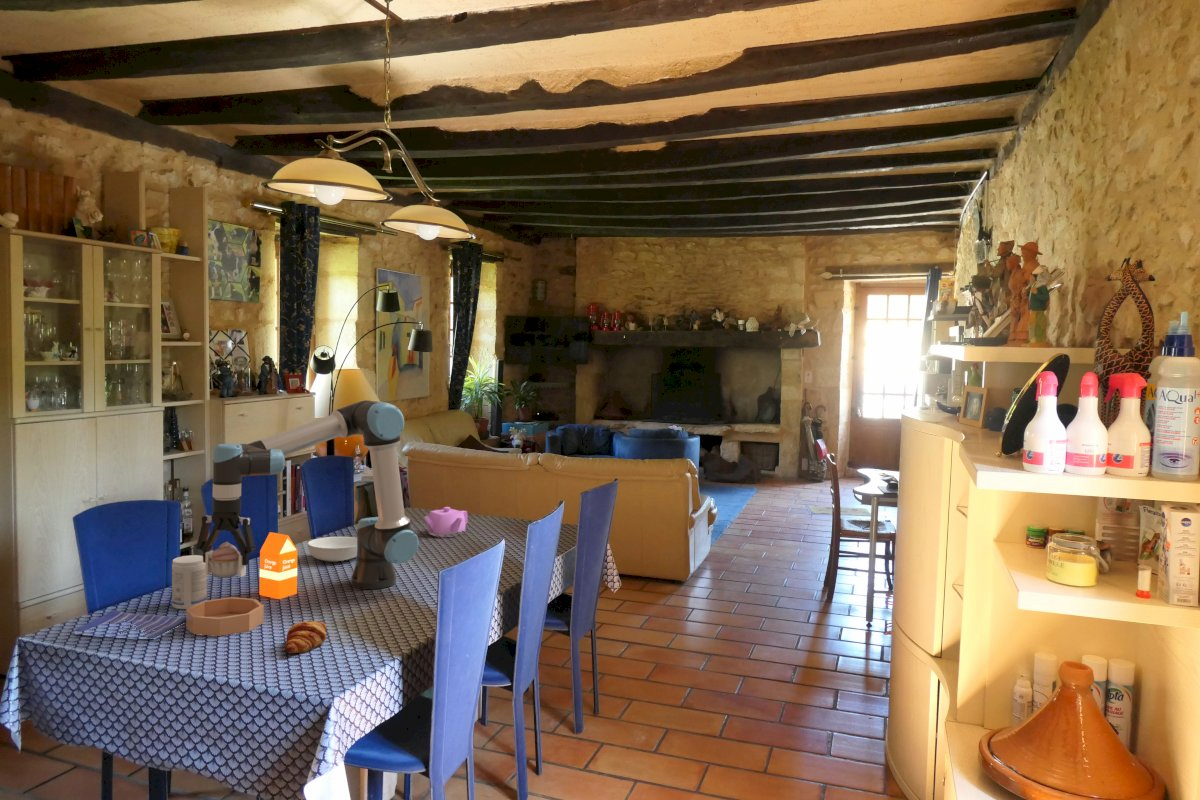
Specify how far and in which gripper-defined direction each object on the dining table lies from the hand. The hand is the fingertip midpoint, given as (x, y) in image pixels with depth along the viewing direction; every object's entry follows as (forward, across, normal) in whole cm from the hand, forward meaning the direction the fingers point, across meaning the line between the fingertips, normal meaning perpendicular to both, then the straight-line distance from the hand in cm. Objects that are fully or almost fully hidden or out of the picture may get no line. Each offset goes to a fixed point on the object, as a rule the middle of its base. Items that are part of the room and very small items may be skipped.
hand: (225, 574), depth 235 cm
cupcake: (0, 0, 0) cm, 0 cm away
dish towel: (+15, +23, +8) cm, 29 cm away
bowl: (+15, 0, 0) cm, 15 cm away
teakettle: (+15, -27, -130) cm, 134 cm away
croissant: (+15, -30, +10) cm, 35 cm away
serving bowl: (+15, +1, -78) cm, 79 cm away
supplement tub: (+15, +20, -14) cm, 29 cm away
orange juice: (+15, 0, -31) cm, 34 cm away
